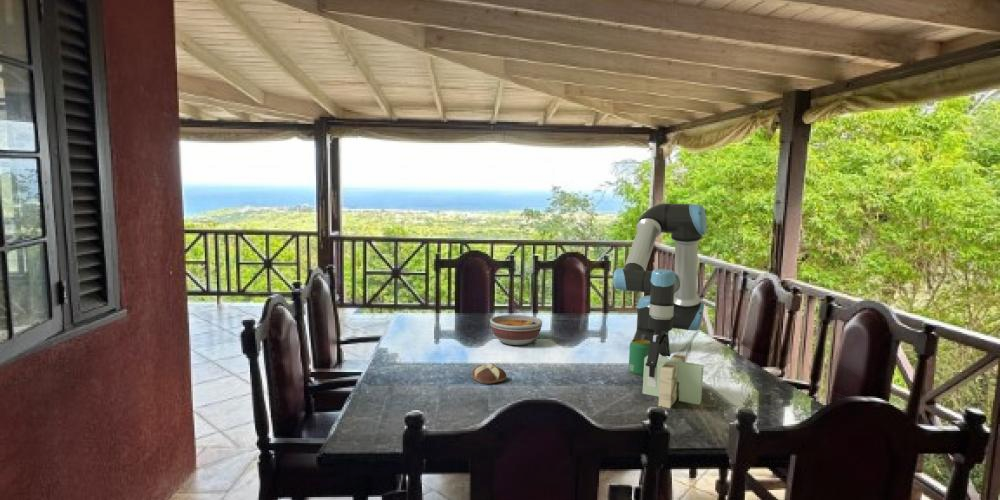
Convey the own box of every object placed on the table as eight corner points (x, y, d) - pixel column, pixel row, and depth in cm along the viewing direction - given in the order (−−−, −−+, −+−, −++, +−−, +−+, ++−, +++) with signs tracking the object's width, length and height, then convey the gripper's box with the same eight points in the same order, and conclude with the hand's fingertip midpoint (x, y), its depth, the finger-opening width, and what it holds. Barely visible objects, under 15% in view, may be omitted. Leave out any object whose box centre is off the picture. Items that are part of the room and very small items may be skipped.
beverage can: (635, 368, 209) (637, 337, 207) (654, 373, 203) (656, 341, 202) (624, 372, 203) (625, 340, 202) (643, 377, 197) (645, 345, 196)
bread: (468, 376, 194) (468, 362, 193) (497, 373, 198) (498, 360, 198) (479, 387, 184) (479, 372, 183) (510, 383, 188) (510, 369, 188)
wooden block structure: (673, 387, 188) (675, 353, 187) (683, 389, 186) (685, 355, 185) (658, 405, 171) (660, 368, 169) (669, 408, 169) (672, 370, 168)
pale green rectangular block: (642, 393, 181) (644, 358, 180) (645, 390, 184) (647, 355, 183) (699, 404, 172) (701, 367, 171) (701, 401, 176) (703, 365, 174)
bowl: (550, 341, 244) (551, 319, 244) (525, 352, 225) (525, 328, 224) (507, 333, 257) (507, 312, 256) (479, 343, 237) (479, 320, 237)
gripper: (658, 309, 191) (655, 368, 193) (638, 322, 170) (634, 389, 172) (681, 312, 187) (677, 372, 189) (663, 325, 166) (659, 393, 168)
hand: (657, 380), depth 180 cm, fingers open, 13 cm apart
